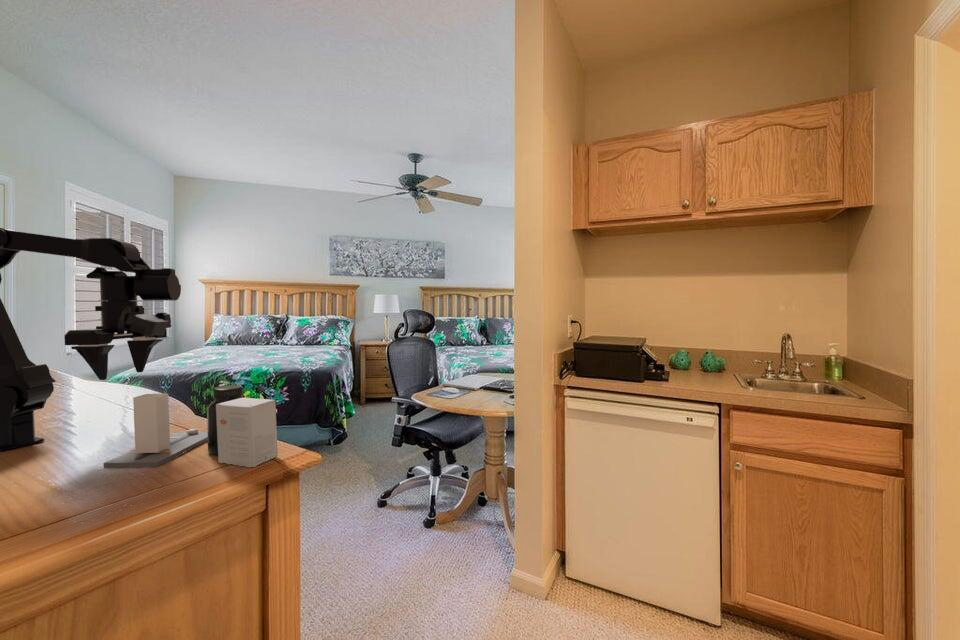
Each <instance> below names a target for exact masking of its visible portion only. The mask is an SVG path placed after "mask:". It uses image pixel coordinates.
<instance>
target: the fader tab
mask: <svg viewBox="0 0 960 640" xmlns="http://www.w3.org/2000/svg"><path fill="white" fill-rule="evenodd" d="M132 399H133V401H132V402H133V404H132V405H133V424H134V425H133V426H134V427H133V428H134V450H135V453H158V452H160V451H163V450H165V449H167V448H169V447H170V434H171V431H170V405H169V393H145V394H141V395H137V396H134V397H132Z"/></svg>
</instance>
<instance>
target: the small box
mask: <svg viewBox="0 0 960 640" xmlns="http://www.w3.org/2000/svg"><path fill="white" fill-rule="evenodd" d="M276 411H277V408H276V399H268V398H267V399H266V398H265V399H264V398H254V397H253V398H252V397H242V398H239V399H235V400H231V401H227V402H223V403H219V404H216V419H217V441H218V455H217V458H218V460H217V461H218V463H219V462H220V463H219V464H223V463H228V464H227V465H230V464H233V465H232V466H237V465H238V466H240V467H244V466H245V468H251V467H253V468H255V467H258V466H260V465H261V463H262V464H264V463H266V462H269V461H271V460H273V459H274V458H277V457H278V451H279V450H278V436H277V435H278V433H277V429H278V428H277V412H276ZM270 459H271V460H270ZM265 461H266V462H265ZM263 462H264V463H263ZM259 464H260V465H259ZM257 465H258V466H257Z"/></svg>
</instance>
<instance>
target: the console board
mask: <svg viewBox="0 0 960 640" xmlns="http://www.w3.org/2000/svg"><path fill="white" fill-rule="evenodd" d="M206 442H208V432H207V431H199V430H198V428H191V429H188V430H186V432H185V431H184V432H179V431H178V432H173V433H170V447H169V448H167V449H165V450H163V451H160V452H158V453H135V449H132V450H131V451H128V452H125V453H124V454H121V455H119V456H116V457H115V458H112V459H110V460H107V461H105V462H103V465H102V466H103V468H104V469H106V468H107V469H108V468H158V467H160V466H161V465H163V463H164V464H166V463H168V462H169V460H170V461H171V459H172V460H173V459H175V458H177V457H179V456H181V455H183V454H184V453H183V452H185V451H187V452H189V451H190V450H189V449H191V448H193V447H195V446H197V447H199V446H201V445H203V444H205V443H206ZM202 443H203V444H202ZM200 444H201V445H200ZM198 445H199V446H198ZM195 448H196V447H195ZM193 449H194V448H193ZM188 450H189V451H188ZM191 450H192V449H191ZM182 453H183V454H182ZM185 453H186V452H185ZM180 454H181V455H180ZM178 455H179V456H178ZM176 456H177V457H176ZM174 457H175V458H174ZM167 461H168V462H167ZM165 462H166V463H165Z"/></svg>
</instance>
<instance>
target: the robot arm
mask: <svg viewBox="0 0 960 640" xmlns="http://www.w3.org/2000/svg"><path fill="white" fill-rule="evenodd" d="M139 250H140V249H138V247H137V246H136V245H134V244H133V243H131V242H127V241H122V240H118V239H115V238H110V237H106V238H105V237H93V238H90V237H89V238H82V239H77V238H76V239H75V238H69V237H68V238H67V237H61V236H53V235H48V234H47V235H46V234H38V233H32V232H31V233H30V232H23V231H18V230H13V229H9V228H5V227H4V228H2V227H0V270H1V269H4V268H5V267H6V266H8V265H9V264H11V262H12V261H13V259H15V257H16V256H17V254H18V253H20V252H22V251H23V252H29V253H36V254H37V253H38V254H44V255H45V254H47V255H52V256H53V255H54V256H60V257H69V258H76V259H80V260H82V261H86V262H89V263H92V264H95V265H99V266H97V267H95V268H94V270H92V271H90V272H89V273H88V274H86V275H85V276H86V278H87V279H92V280H99V287H100V289H99V290H100V305H94V308H95V309H94V310H95V312H101V313H100V315H101V325H98V326H95V328H94V329H93V328H91V329H89V328H87V329H86V328H84V329H71V330H70V329H69V330H68V331H67V332H66V333H65V334H64V346H71V348H70V349H71V350H75V351H76V352H77V353H78V354H79V355H80V356H81V357H82V358H83V360H84V361H85V362H86V363H87V364H88V366H89V367H90V368H91V370H92V372H94V375H96V377H97V378H98V379H99V380H100V381H105V380H107V379H108V370H109V369H108V367H109V364H108V363H109V353H110V352H111V350H112V349H113V348H114V347H115V345H114V344H111V343H112V341H113V340H122V339H130V340H127V341H126V342H127V346H128V349H129V353H130V355H131V359H132V363H133V366H134V368H135V369H134V370H135V371H136V373H143V372H144V371H145V369H146V364H147V361H148V359H149V357H150V354H151V352H152V350H153V349H154V347H155V346H156V345H158V344H159V343H161V342H162V341H163V340H164V339H165V338H168V333H167V332H168V330H167V329H170V328H172V319H171V314H170V313H167V312H161V311H159V312H156V314H155V315H154V314H148V313H145V307H143V305H138V297H139V298H140V299H141V300H142V301H145V302H146V301H147V302H148V301H149V302H150V301H153V302H155V301H156V302H157V301H160V302H161V301H166V302H167V301H171V302H172V301H173V302H174V301H178V299H180V297H181V292H182V284H181V283H180V280H179V278H178V276H177V275H176V269H174V268H170V267H169V268H168V267H167V268H151V267H150V266H149V264H148V263H146V262H145V260H144V259H143V258H142V257H141V252H140V251H139ZM101 266H103V267H101ZM105 267H108V268H114V269H117V270H108V269H106V268H105ZM127 273H131V274H134V275H128V274H127ZM2 278H3V277H2V275H1V272H0V285H1V283H2V281H3V279H2ZM25 351H26V350H25V349H24V347H23V345H22V342H21V340H20V338H19V336H18V334H17V332H16V329H15V327H14V324H13V323H12V320H11V318H10V316H9V314H8V311H7V310H6V307H5V305H4V303H3V300H2V299H1V297H0V452H2V451H8V450H12V449H16V448H20V447H25V446H28V445H33V444H38V443H41V442H44V441H45V438H43V437H38V436H36V431H35V429H36V428H35V427H36V426H35V425H36V424H35V411H37V410H38V411H39V410H41V409H44V408H45V404H47V403H46V402H47V400H48V399H49V398H50V397H51V395H52V394H53V392H54V388H55V387H54V384H53V383H56V380H55V379H54V377H52V375H51V373H50V368H49V366H48V365H47V364H46V363H44V364H35V363H34V362H33V361H32V360H30V359H29V357H28V355H27V353H26V352H25Z"/></svg>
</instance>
